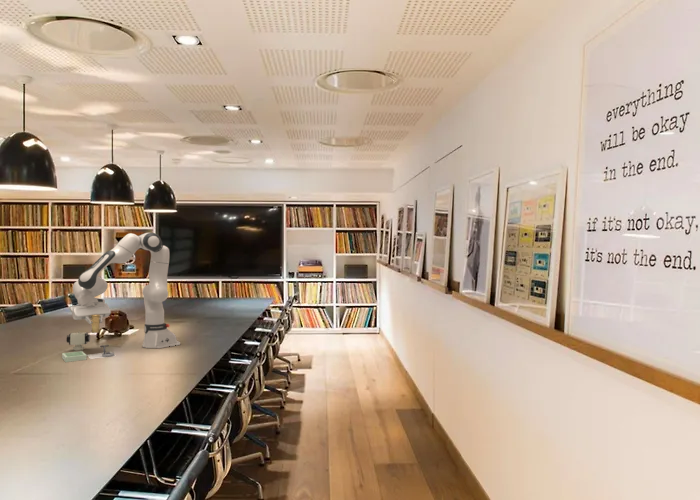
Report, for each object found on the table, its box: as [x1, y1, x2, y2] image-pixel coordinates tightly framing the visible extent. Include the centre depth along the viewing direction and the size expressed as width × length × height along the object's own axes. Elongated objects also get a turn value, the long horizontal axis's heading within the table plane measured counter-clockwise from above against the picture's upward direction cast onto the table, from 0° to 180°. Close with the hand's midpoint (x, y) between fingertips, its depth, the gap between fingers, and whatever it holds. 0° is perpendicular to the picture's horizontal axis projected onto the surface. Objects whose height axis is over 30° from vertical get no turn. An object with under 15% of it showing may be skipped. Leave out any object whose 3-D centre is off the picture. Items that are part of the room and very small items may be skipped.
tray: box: [61, 350, 88, 363], centre depth 267 cm, size 10×12×4 cm
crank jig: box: [86, 344, 117, 360], centre depth 276 cm, size 13×12×7 cm
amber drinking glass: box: [91, 314, 101, 334], centre depth 277 cm, size 4×4×10 cm
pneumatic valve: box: [66, 330, 91, 352], centre depth 289 cm, size 6×12×12 cm, turn 107°
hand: (96, 322), depth 276 cm, fingers closed on amber drinking glass, 4 cm apart
